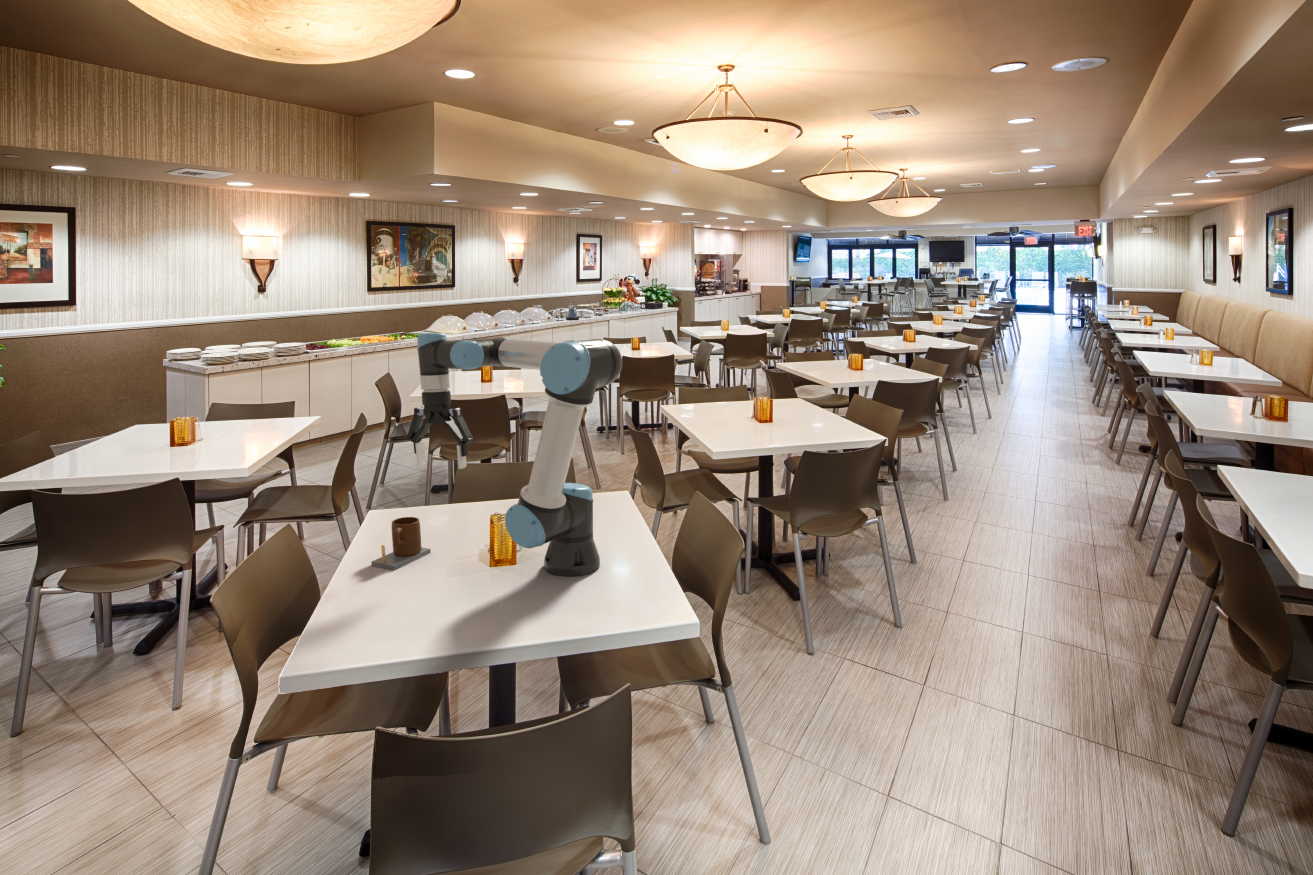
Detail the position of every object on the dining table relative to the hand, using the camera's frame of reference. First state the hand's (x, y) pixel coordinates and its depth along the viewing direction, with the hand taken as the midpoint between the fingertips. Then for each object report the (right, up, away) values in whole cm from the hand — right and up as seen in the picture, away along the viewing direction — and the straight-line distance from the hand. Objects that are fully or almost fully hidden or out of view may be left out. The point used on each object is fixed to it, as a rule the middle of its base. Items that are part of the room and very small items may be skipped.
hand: (441, 466), depth 202 cm
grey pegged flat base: (-12, -26, +3) cm, 29 cm away
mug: (-11, -25, +2) cm, 28 cm away
